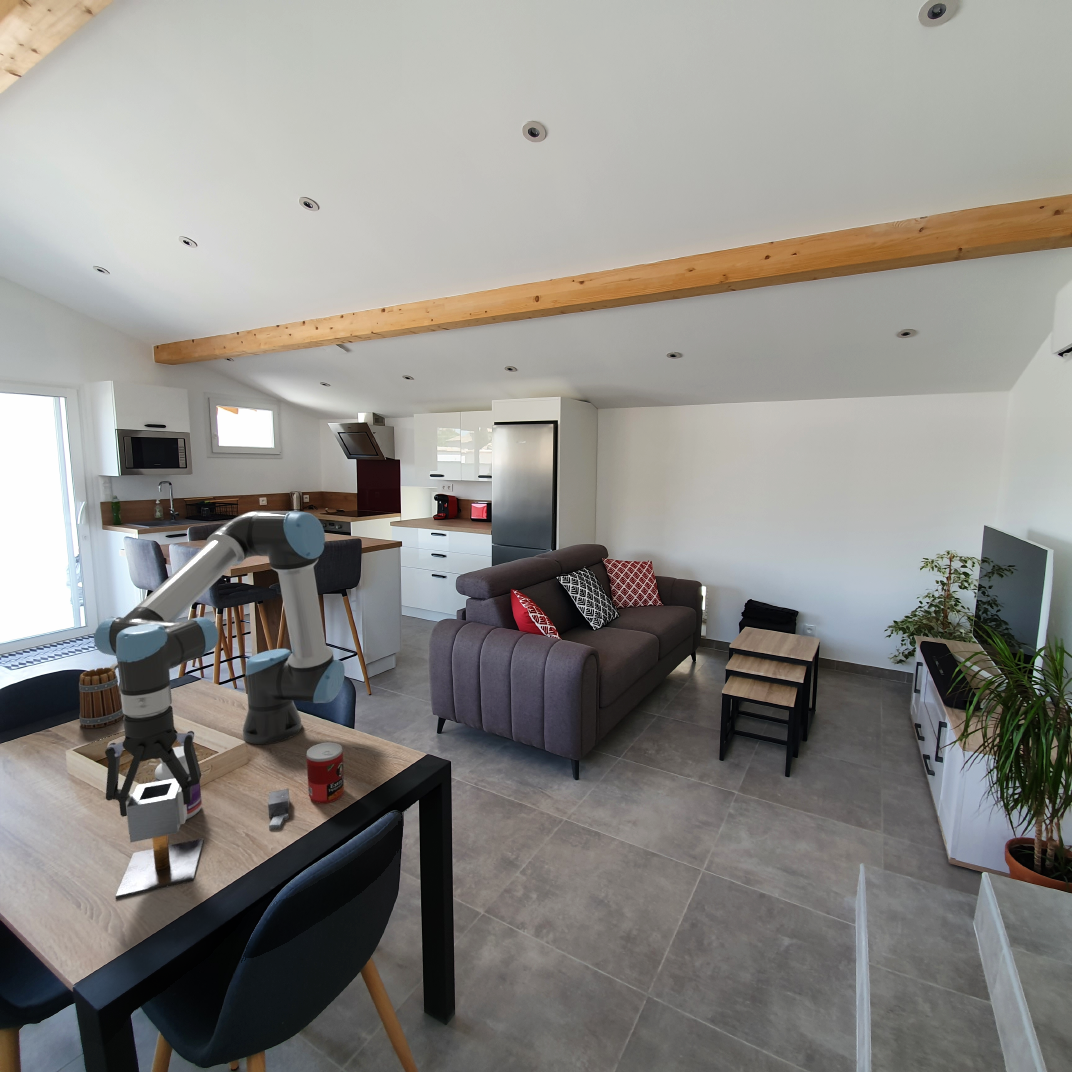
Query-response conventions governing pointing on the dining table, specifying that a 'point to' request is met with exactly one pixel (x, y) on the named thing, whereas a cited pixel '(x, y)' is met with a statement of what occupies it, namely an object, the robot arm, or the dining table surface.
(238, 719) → the dining table surface
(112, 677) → the mug
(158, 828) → the end link
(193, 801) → the pill bottle
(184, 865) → the keeper base
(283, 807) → the grey block with tab
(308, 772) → the canned food
